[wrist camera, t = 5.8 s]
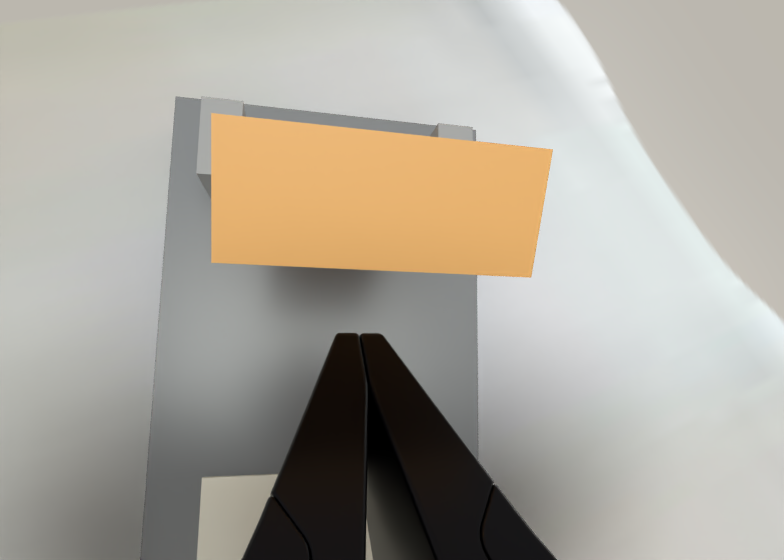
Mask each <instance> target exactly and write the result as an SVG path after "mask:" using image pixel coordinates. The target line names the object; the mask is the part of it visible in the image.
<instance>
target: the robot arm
mask: <svg viewBox="0 0 784 560" xmlns="http://www.w3.org/2000/svg"><path fill="white" fill-rule="evenodd" d="M366 518H367V525H368V531H369V537H370V544H371V550H372V557H373V560H557V559H556V558H555V557H554V555H553V554H552V553H551V552H550V551H549V550H548V549H547V547H546V546H545V545H544V544H543V543H542V542H541V541H540V539H539V538H538V537H537V536H536V535H535V534H534V532H533V531H532V530H531V529H530V527H529V526H528V525H527V524H526V522H525V521H524V520H523V519H522V517H521V516H520V515H519V513H518V512H517V511H516V510H515V508H514V507H513V506H512V505H511V503H510V502H509V501H508V499H507V498H506V497H505V495H504V494H503V493H502V491H501V490H500V489H499V487H498V486H497V485H493V480H492V478H491V477H490V476H489V474H488V473H487V472H486V470H485V469H484V468H483V466H482V465H481V464H480V462H479V461H478V460H477V459H476V457H475V456H474V455H473V453H472V452H471V451H470V449H469V448H468V447H467V445H466V444H465V443H464V441H463V440H462V439H461V437H460V436H459V435H458V433H457V432H456V431H455V429H454V428H453V427H452V425H451V424H450V423H449V421H448V420H447V419H446V417H445V416H444V415H443V413H442V412H441V411H440V410H439V408H438V407H437V406H436V404H435V403H434V402H433V400H432V399H431V398H430V396H429V395H428V394H427V392H426V391H425V390H424V388H423V387H422V386H421V384H420V383H419V382H418V380H417V379H416V378H415V376H414V375H413V374H412V372H411V371H410V370H409V368H408V367H407V366H406V364H405V363H404V362H403V361H402V359H401V358H400V357H399V355H398V354H397V353H396V351H395V350H394V349H393V347H392V346H391V345H390V343H389V342H388V341H387V339H386V338H385V337H384V336H383V335H382V334H380V333H362V334H360V336H359V335H358V334H357V333H337V334H336V335H335V337H334V340H333V342H332V344H331V347H330V349H329V352H328V354H327V357H326V359H325V361H324V364H323V366H322V369H321V371H320V374H319V376H318V379H317V381H316V383H315V386H314V388H313V391H312V393H311V396H310V398H309V400H308V403H307V405H306V408H305V410H304V413H303V415H302V418H301V420H300V422H299V425H298V427H297V430H296V432H295V435H294V437H293V439H292V442H291V444H290V447H289V449H288V452H287V454H286V456H285V459H284V461H283V464H282V466H281V469H280V471H279V473H278V476H277V478H276V481H275V483H274V486H273V488H272V491H271V493H270V497H269V498H268V499H267V502H266V504H265V507H264V509H263V512H262V514H261V516H260V519H259V521H258V524H257V526H256V528H255V530H254V532H253V535H252V537H251V539H250V541H249V544H248V546H247V548H246V550H245V552H244V555H243V557H242V559H241V560H366Z"/></svg>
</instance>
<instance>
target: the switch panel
mask: <svg viewBox="0 0 784 560" xmlns="http://www.w3.org/2000/svg"><path fill="white" fill-rule="evenodd" d="M211 113H216V114H225V115H235V116H244V117H253V118H263V119H272V120H282V121H291V122H300V123H310V124H319V125H328V126H338V127H347V128H356V129H366V130H375V131H384V132H394V133H403V134H412V135H422V136H431V137H440V138H450V139H459V140H468V141H476V130H473V128H472V127H467V126H458V125H449V124H440V123H438V125H437V126H435V125H426V124H417V123H408V122H399V121H390V120H381V119H372V118H363V117H355V116H346V115H337V114H328V113H319V112H310V111H301V110H292V109H283V108H274V107H265V106H256V105H248V104H244V103H243V101H237V100H228V99H219V98H211V97H202V98H201V99H194V98H185V97H176V99H175V112H174V126H173V139H172V152H171V165H170V178H169V191H168V204H167V217H166V230H165V243H164V256H163V269H162V282H161V295H160V308H159V321H158V334H157V347H156V360H155V373H154V386H153V400H152V413H151V426H150V439H149V452H148V465H147V478H146V491H145V504H144V517H143V530H142V543H141V556H140V560H241V559H242V557H243V555H244V552H245V550H246V548H247V546H248V544H249V541H250V539H251V537H252V535H253V532H254V530H255V528H256V526H257V524H258V521H259V519H260V516H261V514H262V512H263V509H264V507H265V504H266V502H267V499H268V498H269V497H270V493H271V491H272V488H273V486H274V483H275V481H276V478H277V476H278V473H279V471H280V469H281V466H282V464H283V461H284V459H285V456H286V454H287V452H288V449H289V447H290V444H291V442H292V439H293V437H294V435H295V432H296V430H297V427H298V425H299V422H300V420H301V418H302V415H303V413H304V410H305V408H306V405H307V403H308V400H309V398H310V396H311V393H312V391H313V388H314V386H315V383H316V381H317V379H318V376H319V374H320V371H321V369H322V366H323V364H324V361H325V359H326V357H327V354H328V352H329V349H330V347H331V344H332V342H333V340H334V337H335V335H336V334H337V333H357V334H358V335H359V336H360V334H362V333H380V334H382V335H383V336H384V337H385V338H386V339H387V341H388V342H389V343H390V345H391V346H392V347H393V349H394V350H395V351H396V353H397V354H398V355H399V357H400V358H401V359H402V361H403V362H404V363H405V364H406V366H407V367H408V368H409V370H410V371H411V372H412V374H413V375H414V376H415V378H416V379H417V380H418V382H419V383H420V384H421V386H422V387H423V388H424V390H425V391H426V392H427V394H428V395H429V396H430V398H431V399H432V400H433V402H434V403H435V404H436V406H437V407H438V408H439V410H440V411H441V412H442V413H443V415H444V416H445V417H446V419H447V420H448V421H449V423H450V424H451V425H452V427H453V428H454V429H455V431H456V432H457V433H458V435H459V436H460V437H461V439H462V440H463V441H464V443H465V444H466V445H467V447H468V448H469V449H470V451H471V452H472V453H473V455H474V456H475V457H476V459H477V460H478V357H477V275H468V274H446V273H424V272H402V271H380V270H358V269H337V268H315V267H293V266H271V265H249V264H227V263H211ZM366 560H373V557H372V550H371V544H370V537H369V531H368V525H367V518H366Z"/></svg>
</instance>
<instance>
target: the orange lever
mask: <svg viewBox="0 0 784 560" xmlns="http://www.w3.org/2000/svg"><path fill="white" fill-rule="evenodd" d="M552 152H553V149H543V148H534V147H525V146H515V145H506V144H497V143H487V142H478V141H468V140H459V139H450V138H440V137H431V136H422V135H412V134H403V133H394V132H384V131H375V130H366V129H356V128H347V127H338V126H328V125H319V124H310V123H300V122H291V121H282V120H272V119H263V118H253V117H244V116H235V115H225V114H216V113H211V263H227V264H249V265H271V266H293V267H315V268H337V269H358V270H380V271H402V272H424V273H446V274H468V275H489V276H511V277H531V275H532V269H533V263H534V257H535V252H536V246H537V240H538V234H539V228H540V222H541V216H542V210H543V204H544V199H545V193H546V187H547V181H548V175H549V169H550V163H551V157H552Z"/></svg>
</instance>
